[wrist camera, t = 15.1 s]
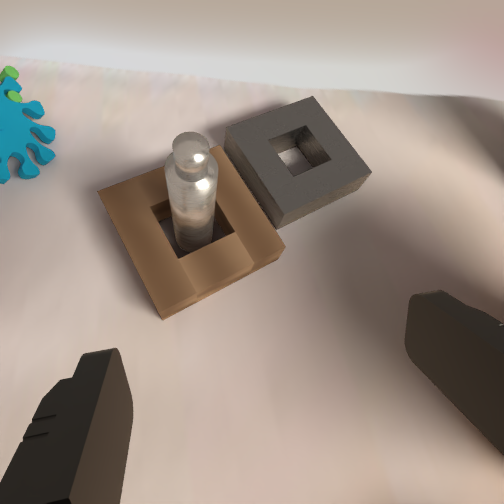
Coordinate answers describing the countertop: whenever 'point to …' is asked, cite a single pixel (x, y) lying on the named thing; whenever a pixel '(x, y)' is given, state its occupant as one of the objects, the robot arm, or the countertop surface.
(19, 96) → the blue pixel flower
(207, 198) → the steel pin
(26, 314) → the countertop surface
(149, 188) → the rack block
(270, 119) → the socket block
